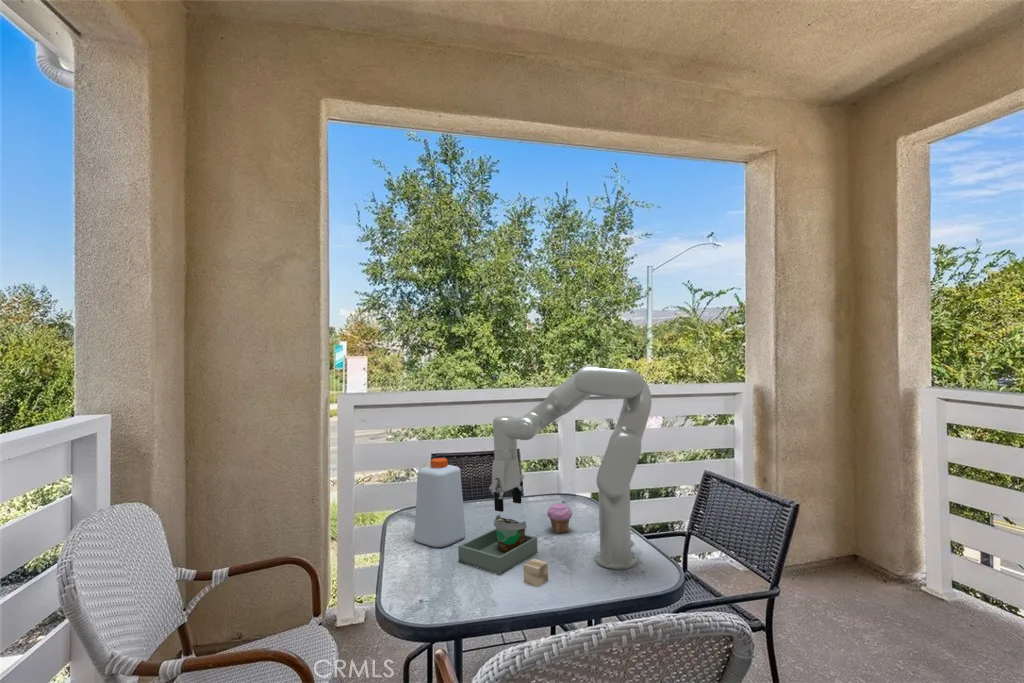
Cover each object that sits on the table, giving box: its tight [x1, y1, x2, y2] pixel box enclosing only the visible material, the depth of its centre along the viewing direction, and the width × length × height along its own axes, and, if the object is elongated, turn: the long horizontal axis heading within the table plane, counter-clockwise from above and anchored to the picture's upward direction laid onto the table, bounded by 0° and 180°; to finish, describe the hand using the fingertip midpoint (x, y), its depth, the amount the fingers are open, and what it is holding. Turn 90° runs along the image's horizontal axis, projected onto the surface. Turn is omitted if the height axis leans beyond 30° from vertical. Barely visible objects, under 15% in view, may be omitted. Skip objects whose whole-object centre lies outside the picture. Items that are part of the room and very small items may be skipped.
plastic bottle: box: [413, 457, 466, 548], centre depth 179 cm, size 15×15×28 cm
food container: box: [493, 514, 527, 553], centre depth 165 cm, size 12×6×10 cm, turn 49°
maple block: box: [523, 558, 549, 587], centre depth 145 cm, size 5×5×5 cm
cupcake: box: [546, 503, 573, 534], centre depth 184 cm, size 9×9×10 cm
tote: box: [458, 527, 538, 576], centre depth 162 cm, size 20×17×5 cm
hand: (508, 506), depth 165 cm, fingers open, 9 cm apart
